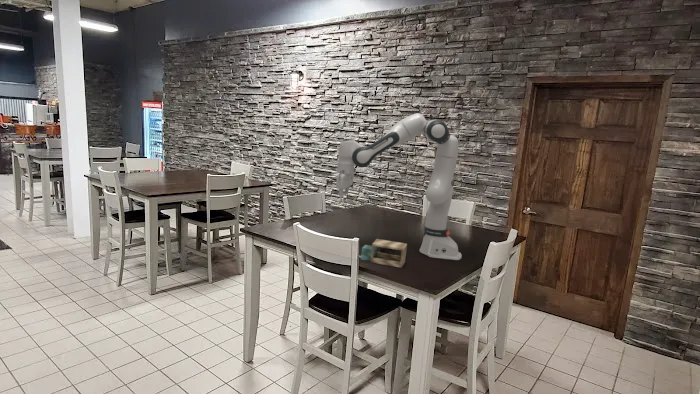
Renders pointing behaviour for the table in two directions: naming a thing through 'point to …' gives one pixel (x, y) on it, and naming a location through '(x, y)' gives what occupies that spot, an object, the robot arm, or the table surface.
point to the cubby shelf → (389, 256)
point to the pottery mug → (386, 250)
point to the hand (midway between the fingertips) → (343, 195)
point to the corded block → (367, 252)
